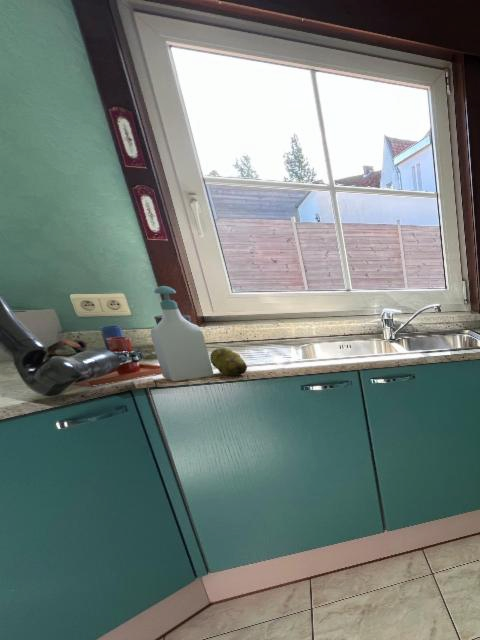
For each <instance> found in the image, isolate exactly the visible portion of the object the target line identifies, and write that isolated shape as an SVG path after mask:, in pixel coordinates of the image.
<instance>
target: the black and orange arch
mask: <svg viewBox="0 0 480 640" xmlns="http://www.w3.org/2000/svg"><path fill="white" fill-rule="evenodd" d="M66 346H69V347H71V348H72V349H73V350H74V352H76V354H78V353H81V352H84V351H87V348H88V346H87V344H86V342H85V341H83V340H81V339H74V340H68V339H67V338H66V337H64V338H61V339H59V340H58V341H56V342H54V343H52V344H50V345H49V346H47V347H46V348H47V350H48V353H47V355H46V357H48V358H51V357H54V356H58V353H56V351H58V350H62V351H65V350H67V348H66Z"/></svg>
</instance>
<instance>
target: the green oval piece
mask: <svg viewBox="0 0 480 640" xmlns="http://www.w3.org/2000/svg"><path fill="white" fill-rule="evenodd" d="M209 359H210V362H211V365H212V367H213V366H214V368H216V369H217V370H218V372H219V373H220V374H222V375H224V376H231V377H234V376H241V375H243V374H245V373H246V372H247V369H248V365H247V364H246V362H245V360H244V359H243V358H242V357H241V355H240V354H239V353H237V352H235V351H233V350H232V349H230V348H226V347H219V348H216V349H214V350H212V351H211V352H210V355H209Z"/></svg>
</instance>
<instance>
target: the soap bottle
mask: <svg viewBox="0 0 480 640" xmlns="http://www.w3.org/2000/svg"><path fill="white" fill-rule="evenodd" d="M176 293H177V291H176V290H175V289H174V288H172V287H170V286H167V285H162V286H161V285H159V286H158V287H156V288H155V289H154V294H158V295H159V294H161V295H163V298H164V299H163V300H160V301H161V302H159V304H160V308H161V315H162V320H161V321H160V322H159V323H158V325H157V324H156V325H155V326H154V327H152V328H151V329H150V337H151V338H150V339H151V341H152V345H153V348H154V351H155V354H156V358H157V361H158V364H159V366H160V368H161V371H162V374H161V375H162V377H163V378H164V379H167V380H170V381H173V382H178V381H185V380H192V379H197V378H205V377H213V376H214V370H213V365H212V363H211V360H210V355H209V351H208V348H207V344H206V340H205V336H204V333H203V332H202V329H201V328H200V326H199V325H197V324H195V323H192V322H191V323H190V322H189V321H187V320H186V319H185V318H183V317H182V316H181V315H182V313H181V311H180V309H179V307H178V306H179V305H178V303H177V301H175V300H174V299H170V295H169V294H176Z"/></svg>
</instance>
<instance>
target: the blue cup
mask: <svg viewBox="0 0 480 640" xmlns="http://www.w3.org/2000/svg"><path fill="white" fill-rule="evenodd" d="M99 330H100V333H101V334H100V335H101V336H102V339H103V343H104V346H105V349H107V350H109V347H108V344H107V341H106V339H107V338H113V337H125V336H124V333H123V330H122V327H121V325H105V326H103V325H102V326H99Z"/></svg>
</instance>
